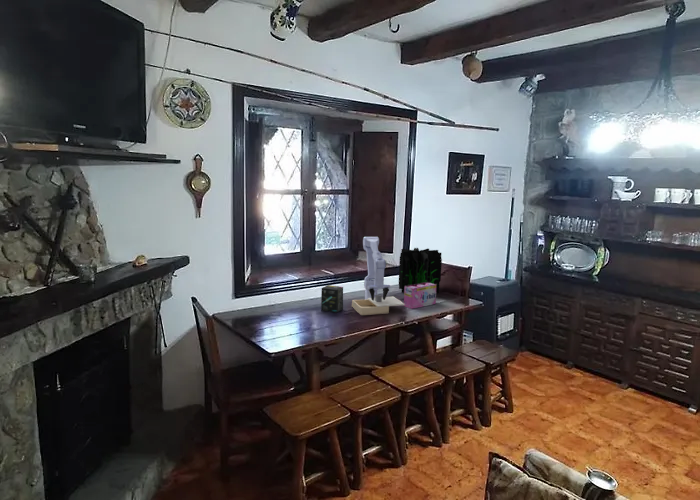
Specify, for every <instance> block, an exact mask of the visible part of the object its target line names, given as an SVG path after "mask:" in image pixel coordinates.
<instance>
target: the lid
mask: <svg viewBox="0 0 700 500" xmlns="http://www.w3.org/2000/svg"><path fill="white" fill-rule="evenodd" d="M368 300H369V301H371V302H372V303H373V304H374V305H376V306H377V307H384V306H389V307H397V306H399V307H400V306H404V305H405V304H404V301H403V302H402V301H401V300H400V299H398V298H396V297H395V296H393V295H392V296H386V298H385V300H384V299H383V294H382V295H381V294H377V295H376V297H375V298H374V301H373V300H372V298H368Z"/></svg>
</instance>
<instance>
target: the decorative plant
mask: <svg viewBox="0 0 700 500" xmlns="http://www.w3.org/2000/svg"><path fill="white" fill-rule="evenodd" d="M400 251H401V252H400V255H399V264H398V265H399V267H398V289H399V290H401V293H403V294H404V289H405V286H408V285H414V284H420V283H425V282H430V283H432V284H436V294H437V293H438V294H439V293H440V282H441V280H442V279H441V278H442V265H443V264H442V263H443V259H442V252H439V249H430V248H425V249H419V247H414V248H413V249H407V248H401V249H400Z"/></svg>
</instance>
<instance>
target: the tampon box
mask: <svg viewBox="0 0 700 500" xmlns="http://www.w3.org/2000/svg"><path fill="white" fill-rule="evenodd" d="M320 301H321V303H320V309H321V311H322V310H323V311H324V312H328V311H330V313H336V314H337V313H338V312H340V311H342V310H343V309H344V286H338V285H330V284H328V285H325V286H324V287H321V298H320ZM323 311H322V312H323Z"/></svg>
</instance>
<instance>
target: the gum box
mask: <svg viewBox="0 0 700 500" xmlns="http://www.w3.org/2000/svg"><path fill="white" fill-rule="evenodd" d="M403 295H404V296H403V303H404V304H405V305H403V307H406V308H408V309H417V308H421V307H426V306H427V307H428V306H431V305H435V304H436V303H437V293H436V284H432V283H430V282H425V283H420V284H414V285H408V286H405V289H404V293H403Z"/></svg>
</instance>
